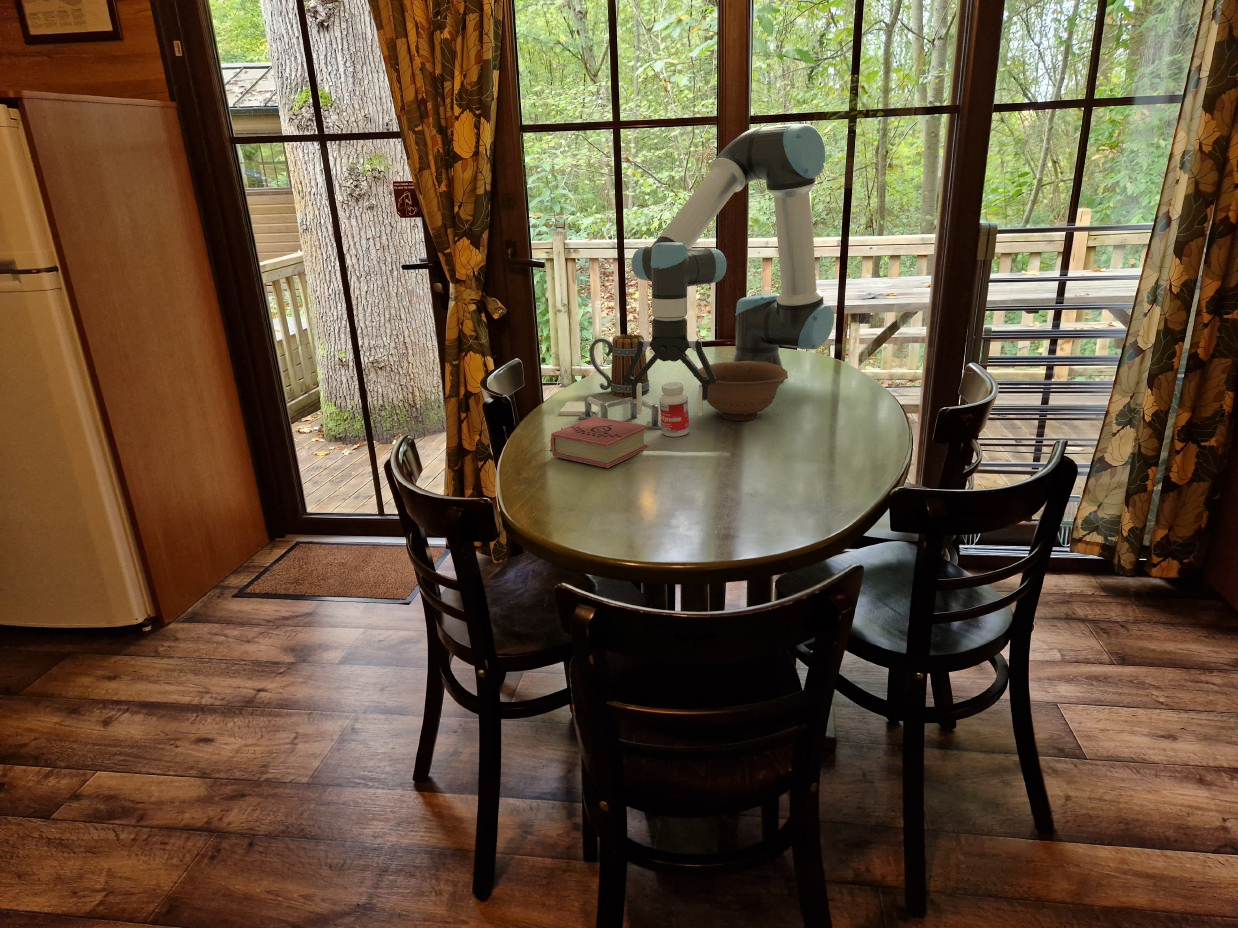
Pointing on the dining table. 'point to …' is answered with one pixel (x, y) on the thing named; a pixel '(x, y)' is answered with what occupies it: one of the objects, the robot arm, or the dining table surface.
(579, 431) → the book
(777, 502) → the dining table surface
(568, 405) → the pad
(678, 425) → the pill bottle
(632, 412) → the jointed bar linkage
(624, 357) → the mug
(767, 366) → the bowl
